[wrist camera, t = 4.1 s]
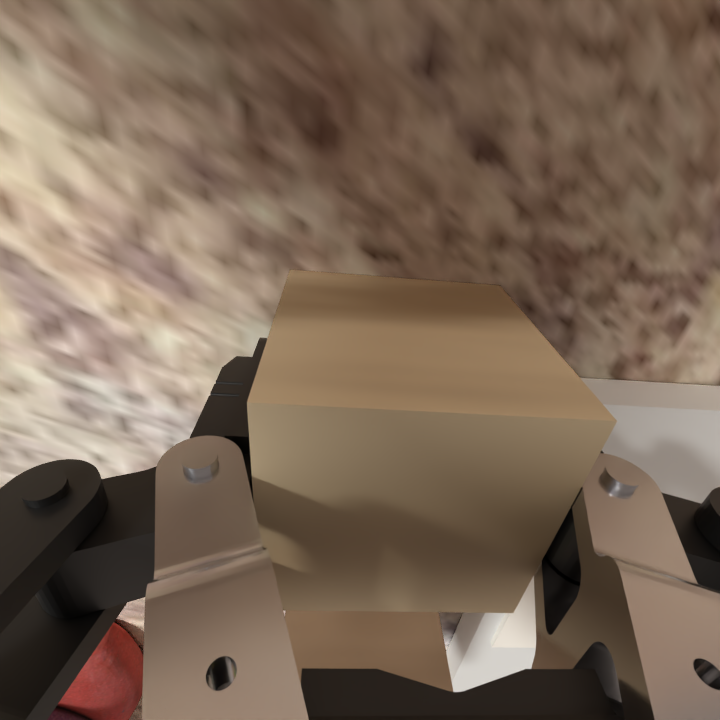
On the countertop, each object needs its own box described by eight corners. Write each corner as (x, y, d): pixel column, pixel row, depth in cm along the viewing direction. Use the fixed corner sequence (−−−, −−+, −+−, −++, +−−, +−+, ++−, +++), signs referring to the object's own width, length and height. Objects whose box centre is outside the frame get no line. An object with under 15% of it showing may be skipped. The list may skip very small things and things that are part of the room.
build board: (563, 376, 11) (588, 408, 10) (1007, 403, 12) (1077, 435, 11) (438, 671, 21) (443, 706, 20) (696, 672, 22) (717, 704, 21)
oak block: (290, 270, 10) (246, 402, 5) (499, 285, 10) (617, 421, 6) (290, 432, 12) (261, 609, 8) (455, 440, 12) (513, 613, 8)
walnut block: (295, 522, 14) (276, 697, 10) (422, 526, 15) (454, 696, 10) (294, 593, 17) (278, 759, 12) (403, 595, 17) (424, 757, 13)
